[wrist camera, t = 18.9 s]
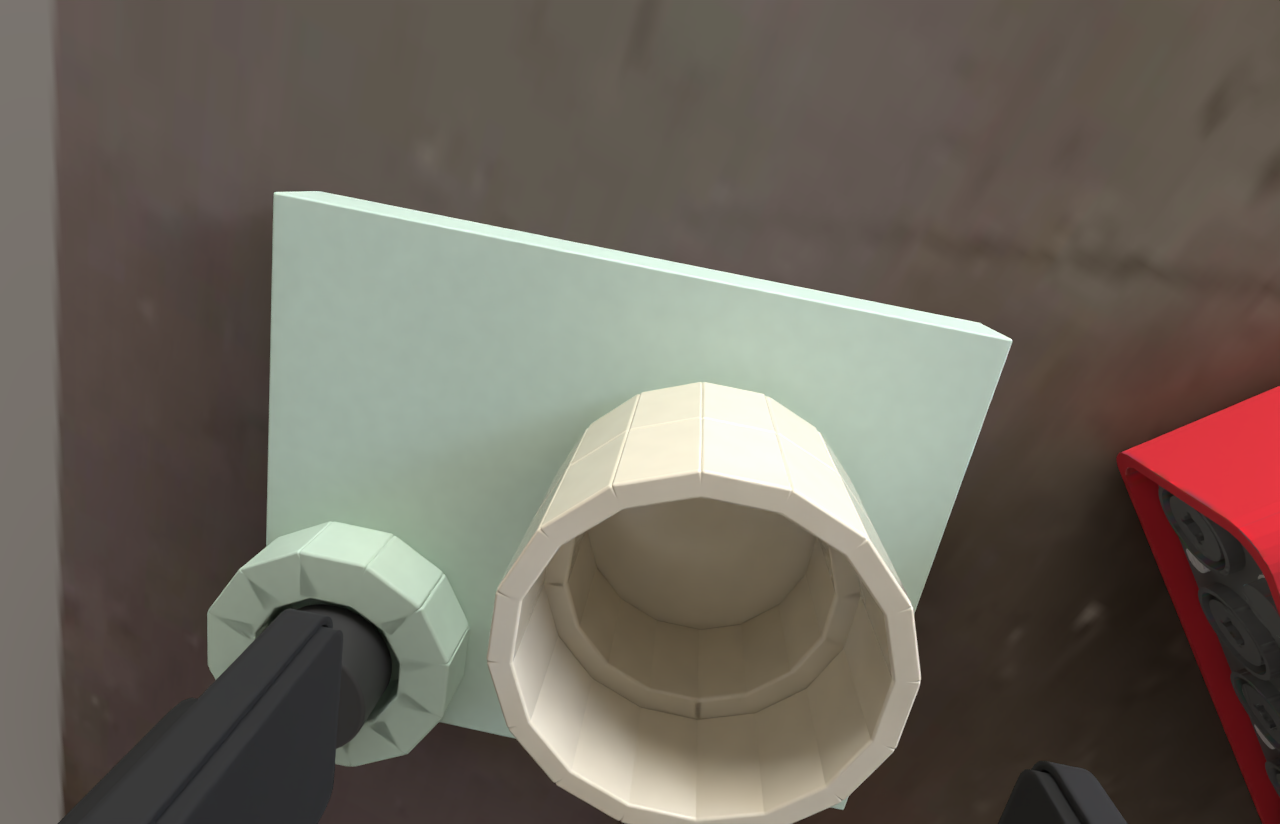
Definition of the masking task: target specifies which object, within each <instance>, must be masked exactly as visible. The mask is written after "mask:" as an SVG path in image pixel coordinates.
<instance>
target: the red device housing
mask: <svg viewBox="0 0 1280 824" xmlns="http://www.w3.org/2000/svg"><path fill="white" fill-rule="evenodd" d="M1116 458H1117V466H1118V469H1119V471H1120V473H1121V476H1122V478H1123V481H1124V483H1125V486H1126V488H1127V491H1128V493H1129V496H1130V498H1131V501H1132V503H1133V506H1134V508H1135V510H1136V513H1137V515H1138V518H1139V520H1140V523H1141V525H1142V528H1143V530H1144V533H1145V535H1146V538H1147V540H1148V543H1149V545H1150V548H1151V550H1152V552H1153V555H1154V557H1155V560H1156V562H1157V565H1158V567H1159V570H1160V572H1161V575H1162V577H1163V580H1164V582H1165V585H1166V587H1167V589H1168V592H1169V594H1170V597H1171V599H1172V602H1173V604H1174V607H1175V609H1176V612H1177V614H1178V617H1179V619H1180V622H1181V624H1182V627H1183V629H1184V631H1185V634H1186V636H1187V639H1188V641H1189V644H1190V646H1191V649H1192V651H1193V654H1194V656H1195V659H1196V661H1197V664H1198V666H1199V669H1200V671H1201V673H1202V676H1203V678H1204V681H1205V683H1206V686H1207V688H1208V691H1209V693H1210V696H1211V698H1212V701H1213V703H1214V706H1215V708H1216V710H1217V713H1218V715H1219V718H1220V720H1221V723H1222V725H1223V728H1224V730H1225V733H1226V735H1227V738H1228V740H1229V743H1230V745H1231V748H1232V750H1233V752H1234V755H1235V757H1236V760H1237V762H1238V765H1239V767H1240V770H1241V772H1242V775H1243V777H1244V780H1245V782H1246V785H1247V787H1248V789H1249V792H1250V794H1251V797H1252V799H1253V802H1254V804H1255V807H1256V809H1257V812H1258V814H1259V817H1260V819H1261V822H1262V824H1280V386H1278V387H1276V388H1273V389H1271V390H1268V391H1266V392H1264V393H1261V394H1259V395H1257V396H1254V397H1252V398H1249V399H1247V400H1245V401H1242V402H1240V403H1238V404H1235V405H1233V406H1230V407H1228V408H1226V409H1223V410H1221V411H1219V412H1216V413H1214V414H1211V415H1209V416H1207V417H1204V418H1202V419H1200V420H1197V421H1195V422H1192V423H1190V424H1188V425H1185V426H1183V427H1180V428H1178V429H1176V430H1173V431H1171V432H1169V433H1166V434H1164V435H1161V436H1159V437H1157V438H1154V439H1152V440H1150V441H1147V442H1145V443H1142V444H1140V445H1138V446H1135V447H1133V448H1131V449H1128V450H1126V451H1123V452H1121V453H1119V454H1118V455H1117V457H1116Z"/></svg>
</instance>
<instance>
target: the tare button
mask: <svg viewBox="0 0 1280 824" xmlns="http://www.w3.org/2000/svg"><path fill="white" fill-rule="evenodd" d="M296 610H301V611H306V612H311V613H316V614H320V615H325V616H329V617H330V618H331V619H332V622H333V629H338V630H341V631H342V633H343V653H342V668H341V682H340V697H339V712H338V727H337V742H336V749H338V748H340V747H342V746H344V745H345V744H347V743H348V742H350V741H351V740H352V739H353V738H354V737H355V736H356V735H357V734H358V732H359V731H360V729H361V728H362V726H363V725H364V723H365V722H366V720H367V718H368V717H369V715H370V714H371V712H372V710H373V709H374V707H375V706H376V704H377V703H378V701H379V699H380V698H381V696H382V695H383V693H384V691H385V690H386V688H387V686H388V684H389V682H390V679H391V673H392V660H391V655H390V651H389V648H388V646H387V644H386V642H385V640H384V638H383V637H382V635H381V634H380V633H379V631H378V630H377V629H376V628H375V627H374V626H373V625H372V624H371V623H370V622H368V621H367V620H366V619H365V618H363V617H362V616H360V615H359V614H357V613H355V612H353V611H351V610H348V609H346V608H343V607H339V606H335V605H329V604H314V605H308V606H304V607H301V608H298V609H296Z"/></svg>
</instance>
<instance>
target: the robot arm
mask: <svg viewBox="0 0 1280 824" xmlns="http://www.w3.org/2000/svg"><path fill="white" fill-rule="evenodd" d="M342 653H343V633H342V631H341V630H338V629H333V622H332V619H331V618H330V617H329V616H325V615H320V614H316V613H311V612H306V611H301V610H296V609H291V608H289V609H285V610H284V611H283V612H281V613H280V614H279V615H278V616H277V617H276V618H275V619H274V620H273V621H272V622H271V624H270V625H269V626H268V627H267V628H266V629H265V630H264V631H263V632H262V633H261V634H260V635H259V636H258V637H257V638H256V639H255V640H254V641H253V642H252V643H251V644H250V645H249V646H248V647H247V648H246V649H245V650H244V652H243V653H242V654H241V655H240V656H239V657H238V658H237V659H236V660H235V661H234V662H233V663H232V664H231V665H230V666H229V667H228V668H227V669H226V670H225V671H224V672H223V673H222V674H221V675H220V676H219V677H218V678H217V679H216V681H215V682H214V683H213V684H212V685H211V686H210V687H209V688H208V689H207V690H206V691H205V692H204V693H203V694H202V695H201V696H200V697H199V698H198V699H195V698H189V699H186V700H184V701H181V702H180V703H179V704H178V705H176V706H175V707H174V708H173V709H172V710H170V711H169V712H168V713H167V714H166V715H165V716H164V717H163V718H162V719H161V720H160V721H159V722H158V723H157V724H156V725H155V726H154V727H153V728H152V729H151V730H150V731H149V732H148V733H147V734H146V735H145V736H144V737H143V738H142V739H141V740H140V741H139V742H138V743H137V744H136V745H135V746H134V747H133V748H132V749H131V750H130V751H129V752H128V753H127V754H126V755H125V756H124V757H123V758H122V759H121V760H120V761H119V763H118V764H117V765H116V766H115V767H114V768H113V769H112V770H111V771H110V772H109V773H108V774H107V775H106V776H105V777H104V778H103V779H102V780H101V781H100V782H99V783H98V784H97V785H96V786H95V787H94V788H93V789H92V790H91V791H90V792H89V793H88V794H87V795H86V796H85V797H84V798H83V799H82V800H81V801H80V802H79V803H78V804H77V805H76V806H75V807H74V808H73V809H72V810H71V811H70V812H69V813H68V814H67V815H66V816H65V817H64V818H63V819H62V820H61V821H60V822H59V823H58V824H317V823H318V822H319V820H320V818H321V816H322V815H323V813H324V811H325V809H326V807H327V804H328V802H329V799H330V796H331V793H332V789H333V783H334V771H335V756H336V742H337V727H338V712H339V697H340V682H341V668H342ZM998 824H1127V822H1126V821H1125V819H1124V818H1123V817H1122V815H1121V814H1120V812H1119V811H1118V809H1117V808H1116V806H1115V805H1114V803H1113V802H1112V801H1111V799H1110V798H1109V796H1108V795H1107V793H1106V792H1105V790H1104V789H1103V787H1102V786H1101V785H1100V783H1099V782H1098V780H1097V779H1096V778H1095V777H1094V775H1093V774H1092V773H1091V772H1089V771H1087V770H1085V769H1082V768H1077V767H1073V766H1068V765H1063V764H1058V763H1053V762H1048V761H1039V762H1037V763H1036V764H1034V766H1033V767H1032V769H1031V770H1030V769H1029V770H1024V771H1023V772H1022V773H1021V774H1020V776H1019V777H1018V780H1017V782H1016V784H1015V786H1014V789H1013V791H1012V793H1011V795H1010V798H1009V800H1008V802H1007V804H1006V807H1005V809H1004V811H1003V813H1002V816H1001V818H1000V820H999V822H998Z"/></svg>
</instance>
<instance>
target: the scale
mask: <svg viewBox="0 0 1280 824" xmlns="http://www.w3.org/2000/svg"><path fill="white" fill-rule="evenodd" d="M1011 344H1012V339H1010V338H1008V337H1006V336H1004V335H1002V334H1000V333H998V332H996V331H994V330H992V329H990V328H988V327H986V326H985V325H983V324H981V323H977V322H972V321H967V320H962V319H957V318H952V317H947V316H942V315H937V314H932V313H927V312H922V311H917V310H912V309H907V308H902V307H897V306H892V305H887V304H882V303H877V302H872V301H867V300H862V299H857V298H852V297H847V296H842V295H837V294H832V293H827V292H822V291H817V290H812V289H807V288H802V287H797V286H792V285H787V284H782V283H777V282H772V281H767V280H762V279H757V278H752V277H747V276H742V275H737V274H732V273H727V272H722V271H717V270H712V269H707V268H702V267H697V266H692V265H687V264H682V263H677V262H672V261H667V260H662V259H657V258H652V257H647V256H642V255H637V254H631V253H626V252H621V251H616V250H611V249H606V248H601V247H596V246H591V245H586V244H581V243H576V242H571V241H566V240H561V239H556V238H551V237H546V236H541V235H536V234H531V233H526V232H521V231H516V230H511V229H506V228H501V227H496V226H491V225H486V224H481V223H476V222H471V221H466V220H461V219H456V218H451V217H446V216H441V215H436V214H431V213H426V212H421V211H416V210H411V209H406V208H401V207H396V206H391V205H386V204H381V203H376V202H371V201H366V200H361V199H356V198H351V197H346V196H341V195H336V194H331V193H326V192H321V191H303V192H275V193H274V196H273V244H272V291H271V339H270V386H269V434H268V481H267V529H266V548H264V549H263V550H262V551H261V552H260V553H258V554H257V555H256V556H255V557H254V558H252V559H251V560H250V561H249V562H247V563H246V564H245V565H244V566H243V567H241V568H240V569H239V570H238V572H237V573H236V574H235V575H234V577H233V578H232V579H231V581H230V582H229V583H228V585H227V586H226V587H225V589H224V590H223V591H222V593H221V594H220V595H219V597H218V598H217V599H216V601H215V602H214V603H213V604H212V606H211V607H210V608H209V610H208V613H207V644H208V666H209V669H210V671H211V673H212V674H213V676H214V678H215V679H217V678H218V677H219V676H220V675H221V674H222V673H223V672H224V671H225V670H226V669H227V668H228V667H229V666H230V665H231V664H232V663H233V662H234V661H235V660H236V659H237V658H238V657H239V656H240V655H241V654H242V653H243V652H244V650H245V649H246V648H247V647H248V646H249V645H250V644H251V643H252V642H253V641H254V640H255V639H256V638H257V637H258V636H259V635H260V634H261V633H262V632H263V631H264V630H265V629H266V628H267V627H268V626H269V625H270V624H271V622H272V621H273V620H274V619H275V618H276V617H277V616H278V615H279V614H280V613H281V612H283V611H284V610H285V609H289V608H291V609H298V608H301V607H304V606H308V605H314V604H329V605H335V606H339V607H343V608H346V609H348V610H351V611H353V612H355V613H357V614H359V615H360V616H362V617H363V618H365V619H366V620H367V621H368V622H370V623H371V624H372V625H373V626H374V627H375V628H376V629H377V630H378V631H379V633H380V634H381V635H382V637H383V638H384V640H385V642H386V644H387V646H388V648H389V651H390V655H391V660H392V673H391V679H390V682H389V684H388V686H387V688H386V690H385V691H384V693H383V695H382V696H381V698H380V699H379V701H378V703H377V704H376V706H375V707H374V709H373V710H372V712H371V714H370V715H369V717H368V718H367V720H366V722H365V723H364V725H363V726H362V728H361V729H360V731H359V732H358V734H357V735H356V736H355V737H354V738H353V739H352V740H351V741H350V742H348V743H347V744H345V745H344V746H342V747H340V748H338V749H336V756H335V764H338V765H343V766H347V767H349V766H353V767H355V766H359V765H364V764H368V763H372V762H376V761H381V760H385V759H389V758H394V757H398V756H402V755H404V754H408V753H409V752H410V751H411V750H412V749H413V748H414V747H415V746H416V745H417V744H418V743H419V742H420V741H421V740H422V739H423V738H424V737H425V736H426V735H427V734H428V733H429V732H430V731H431V730H432V729H433V728H434V727H435V726H436V725H437V724H438V723H439V722H442V723H446V724H451V725H455V726H460V727H464V728H469V729H474V730H478V731H483V732H487V733H492V734H497V735H501V736H506V737H510V738H515V737H514V736H513V734H512V733H511V732H510V731H509V728H508V727H507V725H506V722H505V719H504V716H503V713H502V710H501V706H500V703H499V700H498V697H497V694H496V691H495V687H494V684H493V681H492V678H491V675H490V672H489V669H488V665H487V658H486V657H487V650H488V643H489V636H490V629H491V621H492V614H493V607H494V600H495V593H496V591H497V588H498V586H499V584H500V582H501V580H502V578H503V576H504V574H505V572H506V570H507V568H508V566H509V564H510V562H511V560H512V558H513V556H514V555H515V553H516V551H517V549H518V547H519V545H520V543H521V541H522V539H523V537H524V535H525V533H526V531H527V529H528V527H529V525H530V524H531V522H532V520H533V518H534V517H535V514H536V512H537V510H538V508H539V507H540V505H541V503H542V501H543V499H544V497H545V495H546V493H547V491H548V489H549V487H550V485H551V483H552V481H553V479H554V477H555V475H556V474H557V472H558V470H559V468H560V467H561V465H562V464H563V462H564V461H565V459H566V458H567V456H568V455H569V453H570V452H571V450H572V449H573V447H574V446H575V444H576V443H577V441H578V440H579V438H580V437H581V435H582V434H583V433H584V431H585V430H586V429H587V428H589V426H590V424H591V423H593V422H595V421H596V420H598V419H599V418H601V417H602V416H604V415H606V414H607V413H609V412H610V411H612V410H613V409H615V408H617V407H618V406H620V405H621V404H623V403H624V402H626V401H628V400H629V399H631V398H632V397H634V396H635V395H638V394H640V393H642V392H647V391H652V390H658V389H663V388H669V387H675V386H680V385H686V384H691V383H697V382H702V383H703V382H707V383H712V384H717V385H722V386H727V387H732V388H737V389H742V390H747V391H752V392H757V393H761V394H764V395H765V396H767V397H770V398H772V399H773V400H775V401H776V402H778V403H779V404H781V405H782V406H784V407H785V408H787V409H788V410H790V411H791V412H793V413H794V414H796V415H797V416H799V417H800V418H802V419H803V420H805V421H806V422H808V423H809V424H811V425H812V426H814V427H815V428H816V429H817V431H818V432H820V433H821V434H822V435H823V437H824V439H825V440H826V442H827V443H828V445H829V446H830V448H831V449H832V451H833V453H834V454H835V456H836V457H837V459H838V460H839V462H840V463H841V465H842V467H843V468H844V470H845V471H846V473H847V474H848V476H849V478H850V480H851V482H852V484H853V486H854V488H855V490H856V492H857V494H858V496H859V498H860V500H861V502H862V504H863V506H864V508H865V510H866V512H867V514H868V516H869V518H870V520H871V522H872V524H873V527H874V529H875V530H876V532H877V534H878V536H879V538H880V540H881V542H882V544H883V546H884V548H885V550H886V552H887V554H888V557H889V559H890V561H891V563H892V565H893V567H894V569H895V571H896V573H897V575H898V577H899V579H900V581H901V583H902V585H903V587H904V589H905V591H906V593H907V595H908V597H909V599H910V601H911V605H912V607H913V609H914V613H915V611H916V608H917V605H918V602H919V599H920V597H921V594H922V591H923V588H924V586H925V583H926V580H927V577H928V574H929V572H930V569H931V566H932V563H933V561H934V558H935V555H936V552H937V549H938V547H939V544H940V541H941V538H942V536H943V533H944V530H945V527H946V525H947V522H948V519H949V516H950V513H951V511H952V508H953V505H954V502H955V500H956V497H957V494H958V491H959V488H960V486H961V483H962V480H963V477H964V475H965V472H966V469H967V466H968V463H969V461H970V458H971V455H972V452H973V450H974V447H975V444H976V441H977V438H978V436H979V433H980V430H981V427H982V425H983V422H984V419H985V416H986V414H987V411H988V408H989V405H990V402H991V400H992V397H993V394H994V391H995V389H996V386H997V383H998V380H999V377H1000V375H1001V372H1002V369H1003V366H1004V364H1005V361H1006V358H1007V355H1008V352H1009V350H1010V347H1011ZM515 739H516V738H515ZM847 799H848V797H847V798H846V799H845V800H842V802H841V803H839V804H837V805H834V806H832V807H831V808H836V809H840V810H843V809H844V808H845V805H846V802H847Z"/></svg>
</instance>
